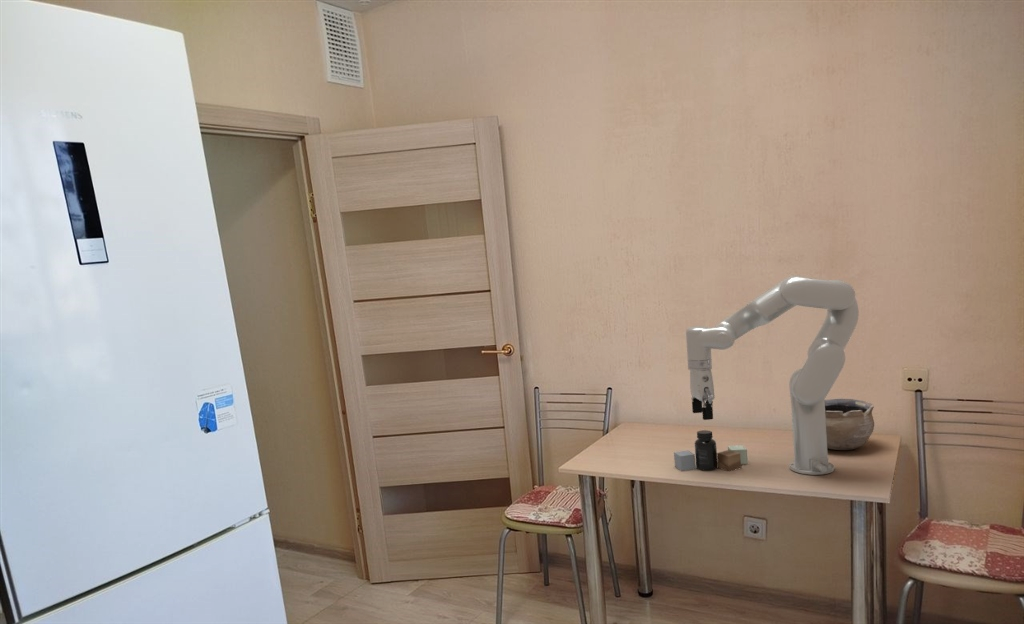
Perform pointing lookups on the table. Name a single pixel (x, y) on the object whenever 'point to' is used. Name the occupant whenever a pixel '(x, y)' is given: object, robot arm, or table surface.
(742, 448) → the sage cube
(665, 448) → the table surface
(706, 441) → the supplement bottle
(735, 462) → the walnut cube
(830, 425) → the ceramic bowl
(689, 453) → the slate cube
